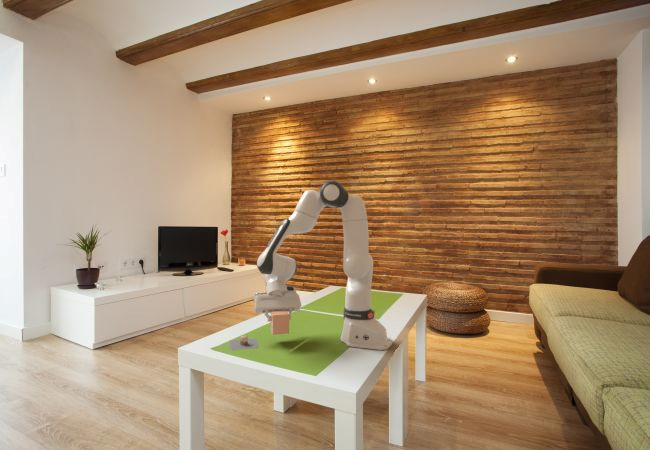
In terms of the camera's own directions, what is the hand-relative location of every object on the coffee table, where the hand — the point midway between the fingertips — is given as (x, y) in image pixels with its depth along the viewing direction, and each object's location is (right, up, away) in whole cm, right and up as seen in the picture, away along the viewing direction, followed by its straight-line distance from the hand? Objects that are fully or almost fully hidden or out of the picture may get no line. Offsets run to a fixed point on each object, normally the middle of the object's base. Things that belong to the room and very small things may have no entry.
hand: (279, 320), depth 149 cm
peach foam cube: (0, -5, -1) cm, 5 cm away
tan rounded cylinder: (-14, -9, -4) cm, 17 cm away
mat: (-14, -9, -4) cm, 17 cm away
